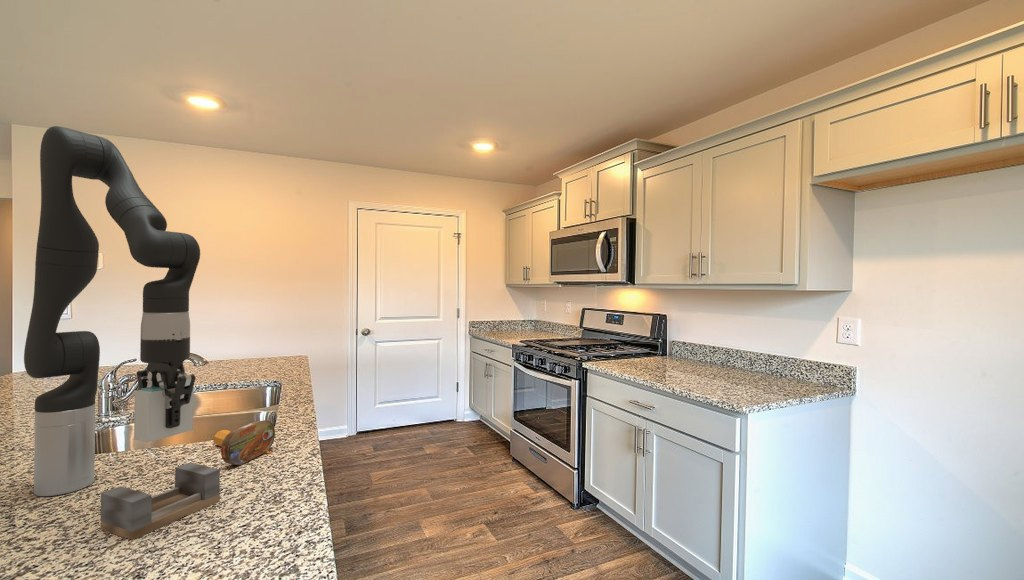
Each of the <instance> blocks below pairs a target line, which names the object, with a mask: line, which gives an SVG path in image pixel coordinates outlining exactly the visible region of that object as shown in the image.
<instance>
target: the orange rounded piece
mask: <svg viewBox="0 0 1024 580" xmlns="http://www.w3.org/2000/svg"><path fill="white" fill-rule="evenodd" d="M230 432H231V430H228V429H221V430H219V431H217V432H216V433H215V434H214V436H213V443H214V444H216V445H217V446H218V447H220V448H221V445H222V442H223V440H224V438H225V437H226V436H227V435H228V434H229V433H230ZM264 454H267V455H268V454H269V455H273V453H272V452H270V451H269V450H268V451H267V452H265V453H264Z"/></svg>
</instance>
